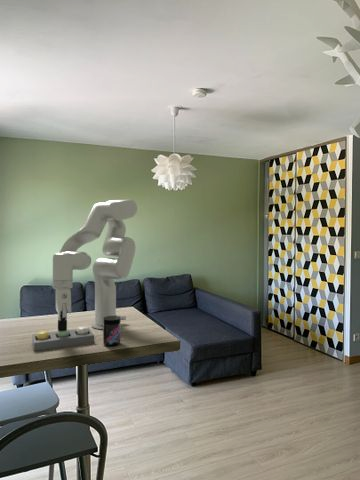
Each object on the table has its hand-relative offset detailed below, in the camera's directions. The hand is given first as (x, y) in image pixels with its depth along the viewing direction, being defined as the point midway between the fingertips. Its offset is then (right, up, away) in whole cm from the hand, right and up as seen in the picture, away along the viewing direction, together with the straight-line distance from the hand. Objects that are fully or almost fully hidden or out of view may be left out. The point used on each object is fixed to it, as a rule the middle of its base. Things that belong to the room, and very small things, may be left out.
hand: (62, 330), depth 137 cm
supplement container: (+20, -6, -1) cm, 21 cm away
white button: (+7, -3, +4) cm, 8 cm away
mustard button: (-7, -3, -3) cm, 8 cm away
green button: (0, -3, +1) cm, 3 cm away
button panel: (0, -5, +1) cm, 5 cm away
